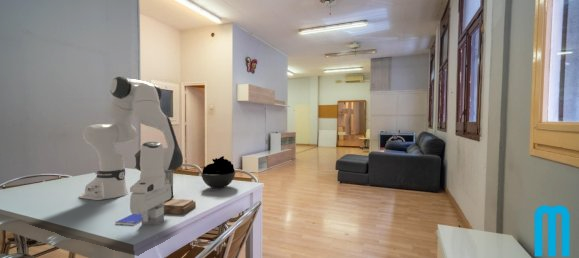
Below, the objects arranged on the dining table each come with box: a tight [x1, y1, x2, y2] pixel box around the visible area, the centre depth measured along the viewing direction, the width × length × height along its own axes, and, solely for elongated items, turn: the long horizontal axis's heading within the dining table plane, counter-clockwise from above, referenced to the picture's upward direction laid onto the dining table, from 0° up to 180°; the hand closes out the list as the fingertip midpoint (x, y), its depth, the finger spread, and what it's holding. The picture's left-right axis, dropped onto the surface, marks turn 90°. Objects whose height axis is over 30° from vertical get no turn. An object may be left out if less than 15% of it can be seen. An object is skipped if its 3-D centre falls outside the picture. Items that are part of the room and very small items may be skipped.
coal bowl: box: [200, 155, 236, 190], centre depth 154 cm, size 20×20×19 cm
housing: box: [141, 205, 165, 227], centre depth 101 cm, size 6×5×6 cm
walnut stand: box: [164, 198, 196, 215], centre depth 115 cm, size 12×10×4 cm
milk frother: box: [164, 170, 174, 202], centre depth 130 cm, size 14×16×15 cm
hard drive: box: [115, 213, 142, 226], centre depth 105 cm, size 2×8×12 cm
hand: (153, 217), depth 101 cm, fingers open, 6 cm apart
